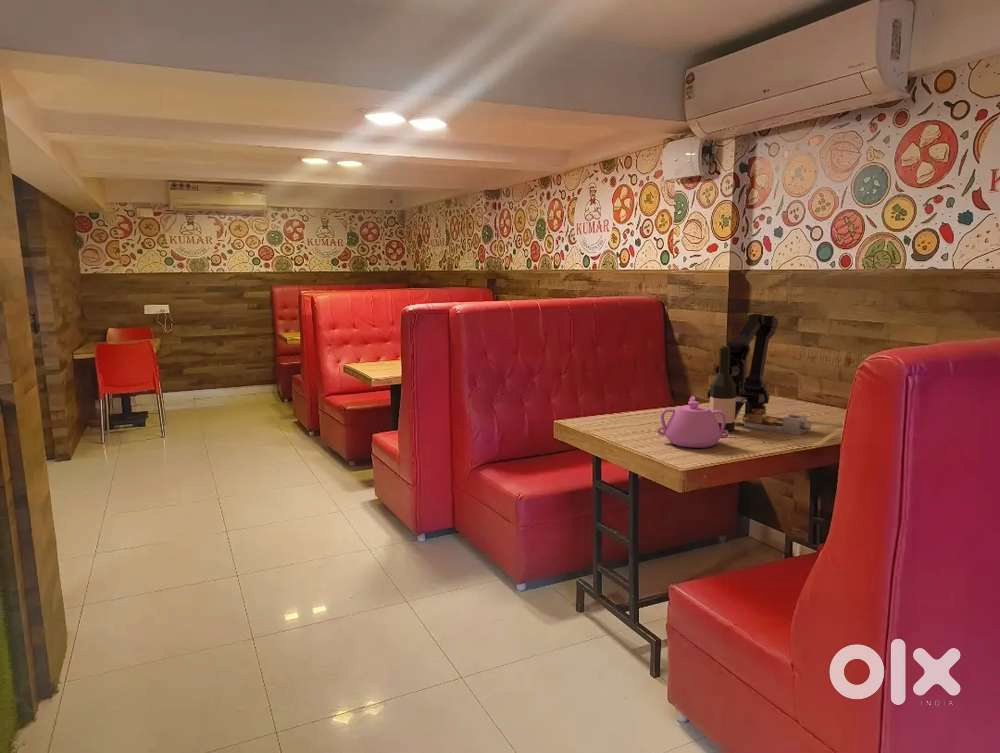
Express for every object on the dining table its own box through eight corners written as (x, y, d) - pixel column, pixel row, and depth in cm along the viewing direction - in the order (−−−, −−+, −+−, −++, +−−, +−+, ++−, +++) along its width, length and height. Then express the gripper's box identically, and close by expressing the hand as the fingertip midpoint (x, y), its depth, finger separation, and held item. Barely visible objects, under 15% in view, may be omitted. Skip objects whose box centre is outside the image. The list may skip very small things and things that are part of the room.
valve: (741, 425, 238) (742, 408, 237) (746, 423, 241) (747, 406, 240) (773, 429, 231) (774, 412, 230) (777, 427, 234) (778, 410, 233)
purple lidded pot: (724, 436, 227) (725, 395, 225) (731, 452, 206) (732, 408, 204) (657, 433, 232) (658, 393, 230) (657, 448, 211) (658, 405, 209)
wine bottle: (734, 430, 234) (738, 345, 230) (734, 436, 226) (738, 347, 222) (709, 429, 237) (712, 344, 233) (708, 434, 229) (711, 346, 225)
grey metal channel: (740, 430, 234) (741, 413, 233) (753, 424, 243) (754, 408, 242) (803, 439, 221) (805, 421, 220) (814, 433, 230) (815, 415, 229)
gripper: (701, 376, 239) (699, 419, 242) (753, 381, 227) (751, 427, 229) (714, 373, 248) (712, 414, 250) (765, 378, 236) (763, 421, 238)
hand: (734, 419), depth 242 cm, fingers closed
